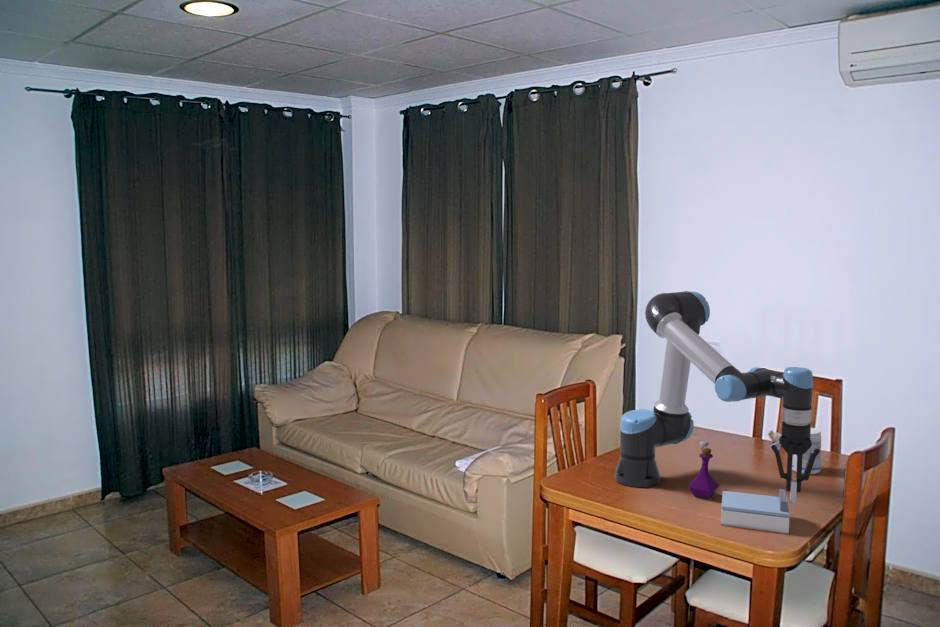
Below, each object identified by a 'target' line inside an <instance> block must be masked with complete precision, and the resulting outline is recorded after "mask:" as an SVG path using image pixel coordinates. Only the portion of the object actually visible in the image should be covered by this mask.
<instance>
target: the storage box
mask: <svg viewBox="0 0 940 627" xmlns="http://www.w3.org/2000/svg"><path fill="white" fill-rule="evenodd" d="M720 509H721V508H720ZM720 511H721V512H720V526H726V527H734V528H742V529H751V530H758V531H764V532H765V531H767V532H773V533H783V534H789V533H790V516H789V517H784V516H776V515H768V514H759V513H751V512H742V511H734V510H726V509H721V510H720Z"/></svg>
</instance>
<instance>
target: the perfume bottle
mask: <svg viewBox="0 0 940 627" xmlns="http://www.w3.org/2000/svg"><path fill="white" fill-rule="evenodd" d="M709 445H710V443H709V442H707V441H699V447H700V449H701V453H700V454H699V457H700V459H701V460H702V461H701V462H702V463H701V468H700V470H699V472H698V474H697V475H696V476H695V478H694V479H693V480H692V481H691V482H690V483H689V485H688V486H687V488H688V489H689V491H690V492H691V493H692V495H693V496H694V497H696V498H699V499H701V498H702V499H704V500H705V499H706V500H708V499H709V498H711V497H712V496H713V495H714V493H715V492H716V491H717V489H718V488H719V487H720V484H719V483H718V482H716V480H715V479H714V478H713V477H712V476H711V474H710V472H709V462H710V460H711V459H712V458H713V457H714V455H713V454H711V453H712V449H711V448H709V447H708V446H709Z"/></svg>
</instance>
